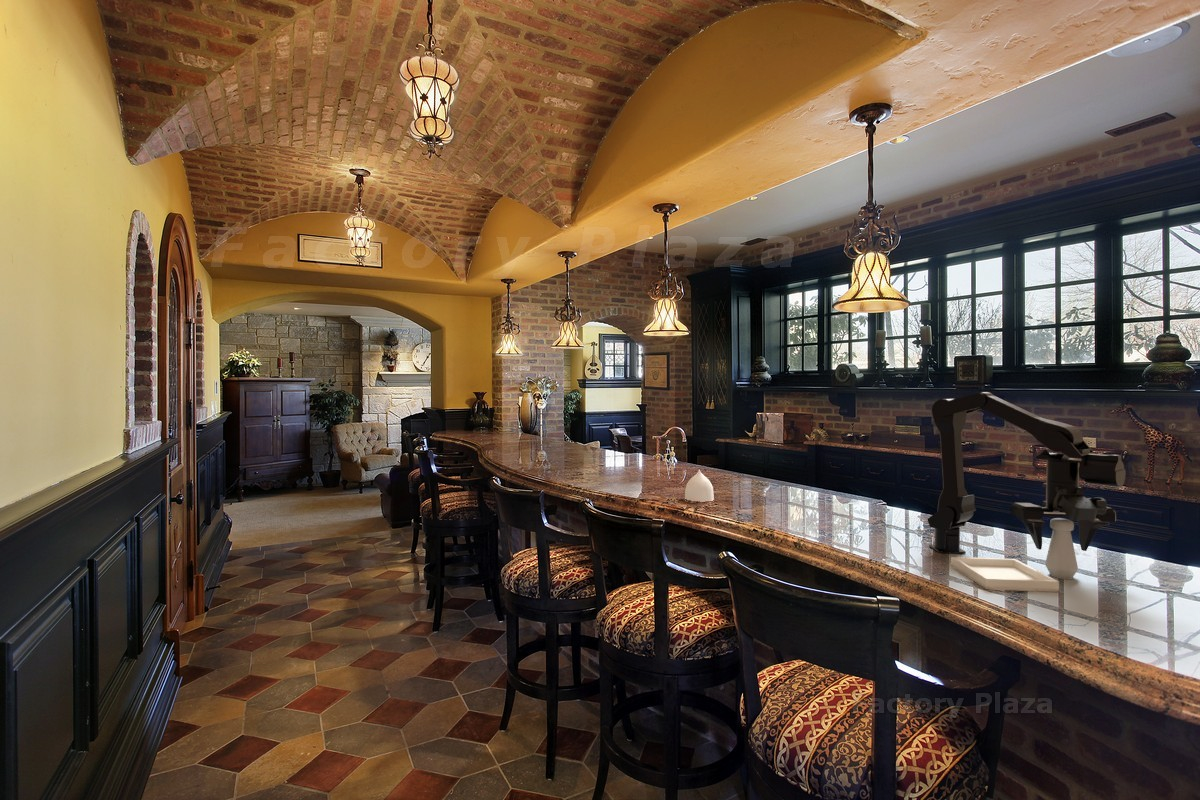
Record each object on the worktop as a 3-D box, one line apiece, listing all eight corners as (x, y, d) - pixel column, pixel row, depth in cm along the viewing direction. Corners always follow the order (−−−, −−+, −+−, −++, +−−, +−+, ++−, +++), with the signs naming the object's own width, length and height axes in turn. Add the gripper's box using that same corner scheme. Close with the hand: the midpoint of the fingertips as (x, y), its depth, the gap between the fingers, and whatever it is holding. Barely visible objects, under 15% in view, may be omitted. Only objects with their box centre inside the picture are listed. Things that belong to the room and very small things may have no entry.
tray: (951, 566, 139) (951, 556, 139) (1014, 568, 137) (1015, 558, 137) (986, 589, 123) (986, 579, 123) (1058, 592, 121) (1059, 581, 121)
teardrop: (683, 497, 227) (683, 466, 226) (711, 497, 226) (711, 466, 226) (686, 503, 216) (686, 471, 215) (716, 503, 215) (716, 471, 215)
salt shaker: (1045, 570, 135) (1046, 515, 135) (1077, 575, 132) (1078, 518, 131) (1044, 576, 131) (1045, 519, 130) (1077, 582, 127) (1078, 523, 127)
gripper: (1038, 486, 124) (1037, 559, 124) (1136, 488, 121) (1135, 562, 122) (1009, 478, 135) (1008, 544, 135) (1098, 479, 132) (1097, 547, 133)
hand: (1061, 549), depth 131 cm, fingers open, 9 cm apart
